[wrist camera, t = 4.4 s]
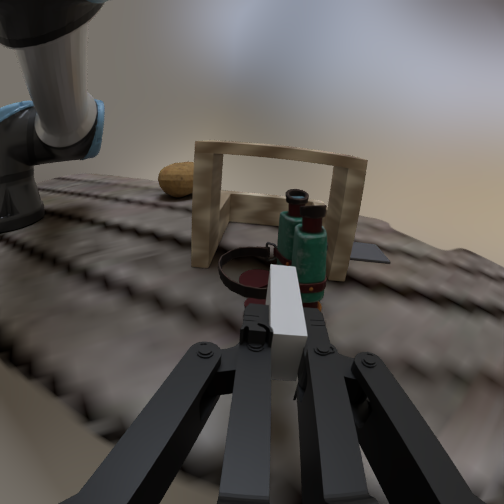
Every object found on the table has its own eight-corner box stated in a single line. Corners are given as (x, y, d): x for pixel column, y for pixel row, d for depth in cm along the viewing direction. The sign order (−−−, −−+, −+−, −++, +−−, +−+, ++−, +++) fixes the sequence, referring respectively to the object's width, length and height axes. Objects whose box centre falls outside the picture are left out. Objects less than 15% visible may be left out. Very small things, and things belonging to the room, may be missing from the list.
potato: (145, 199, 62) (145, 164, 59) (178, 189, 75) (179, 159, 72) (181, 205, 60) (183, 167, 57) (211, 193, 72) (213, 162, 69)
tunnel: (191, 266, 34) (195, 141, 28) (219, 217, 53) (224, 139, 48) (344, 281, 33) (367, 160, 28) (317, 227, 53) (328, 150, 47)
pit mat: (339, 258, 40) (340, 256, 40) (330, 241, 46) (330, 239, 46) (389, 263, 40) (390, 261, 40) (375, 246, 46) (375, 244, 46)
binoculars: (213, 189, 27) (313, 186, 29) (219, 287, 32) (308, 279, 33) (215, 215, 19) (353, 209, 21) (224, 340, 23) (338, 326, 25)
